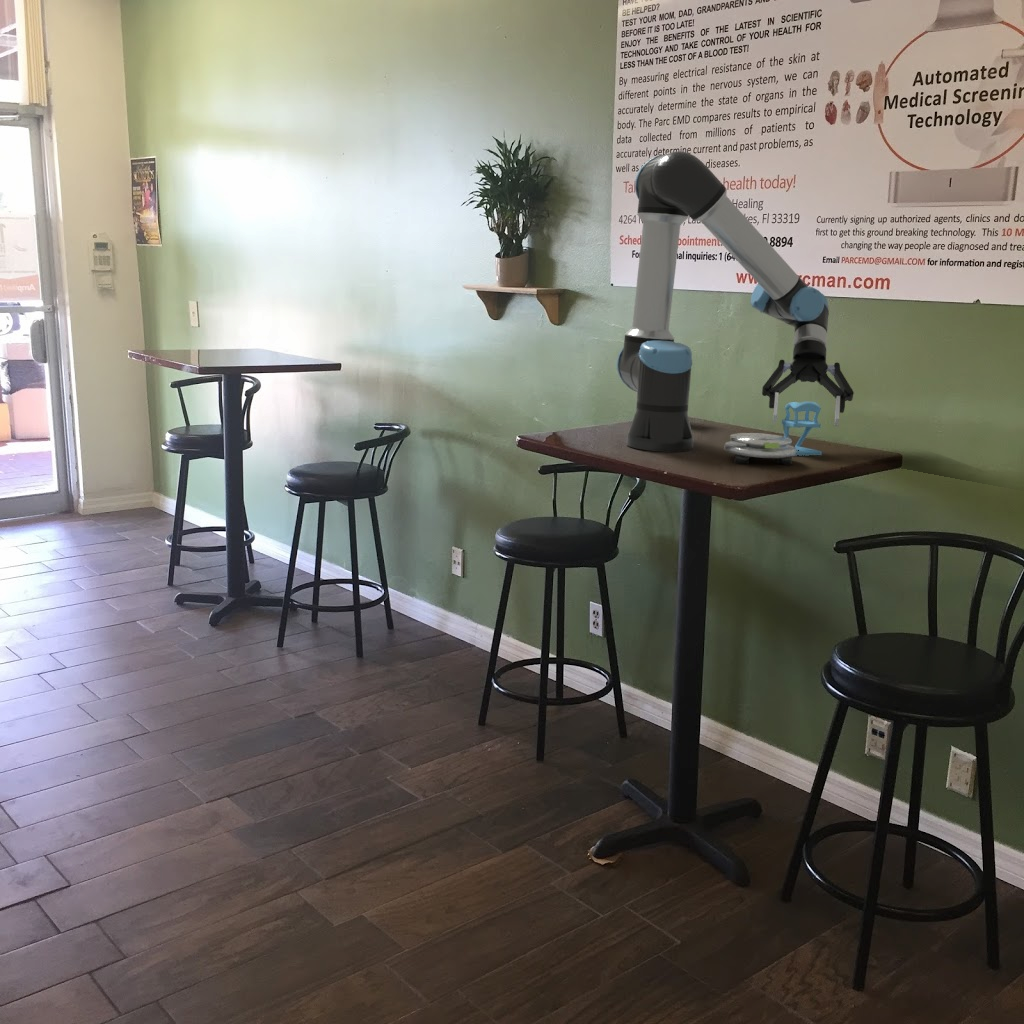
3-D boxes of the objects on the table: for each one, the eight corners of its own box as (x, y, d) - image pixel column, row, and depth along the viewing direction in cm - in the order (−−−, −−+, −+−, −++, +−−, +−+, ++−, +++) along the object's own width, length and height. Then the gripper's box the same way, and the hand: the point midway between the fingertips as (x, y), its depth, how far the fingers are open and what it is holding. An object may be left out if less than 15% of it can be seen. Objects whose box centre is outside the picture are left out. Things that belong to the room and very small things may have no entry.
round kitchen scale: (735, 466, 222) (737, 443, 221) (714, 453, 236) (716, 431, 235) (805, 467, 223) (807, 444, 222) (780, 454, 238) (782, 432, 237)
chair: (806, 449, 246) (811, 398, 244) (822, 456, 238) (827, 402, 236) (774, 449, 245) (779, 397, 243) (789, 455, 237) (794, 402, 235)
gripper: (862, 361, 252) (860, 434, 242) (755, 356, 258) (748, 426, 247) (867, 340, 246) (865, 414, 235) (756, 335, 251) (750, 406, 241)
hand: (805, 420), depth 241 cm, fingers open, 13 cm apart
